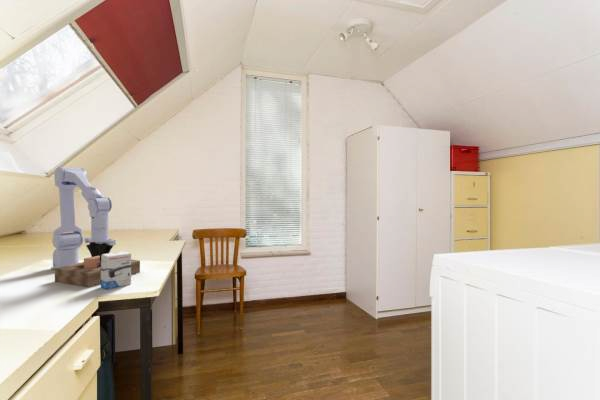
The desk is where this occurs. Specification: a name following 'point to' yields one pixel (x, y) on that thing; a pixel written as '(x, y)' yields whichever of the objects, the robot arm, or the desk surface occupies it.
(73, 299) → the desk surface
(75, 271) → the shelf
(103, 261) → the ink box
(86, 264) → the pink notched block
